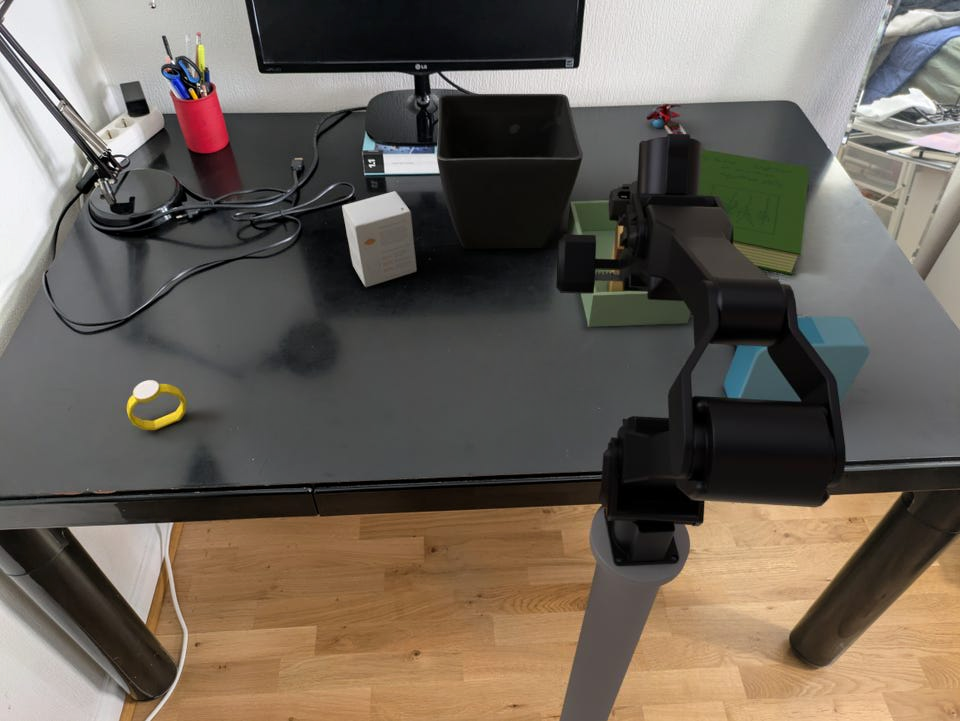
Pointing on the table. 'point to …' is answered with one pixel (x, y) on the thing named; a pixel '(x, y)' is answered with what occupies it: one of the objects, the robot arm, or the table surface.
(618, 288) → the chocolate carton
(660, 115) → the hoverbike
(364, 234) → the small box
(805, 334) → the blue rounded flat block
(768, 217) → the hardcover book
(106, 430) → the table surface
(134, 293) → the table surface
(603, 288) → the green open tray
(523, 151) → the flower pot
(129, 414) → the watch
